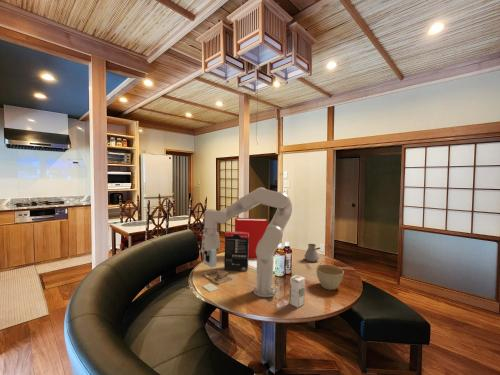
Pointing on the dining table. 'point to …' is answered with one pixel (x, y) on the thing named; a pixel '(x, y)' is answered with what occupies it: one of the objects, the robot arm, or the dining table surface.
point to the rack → (216, 276)
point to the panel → (211, 259)
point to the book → (252, 231)
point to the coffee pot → (311, 253)
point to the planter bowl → (329, 276)
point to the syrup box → (297, 291)
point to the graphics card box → (236, 251)
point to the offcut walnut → (222, 274)
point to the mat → (210, 287)
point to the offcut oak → (221, 279)
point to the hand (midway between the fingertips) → (210, 260)
